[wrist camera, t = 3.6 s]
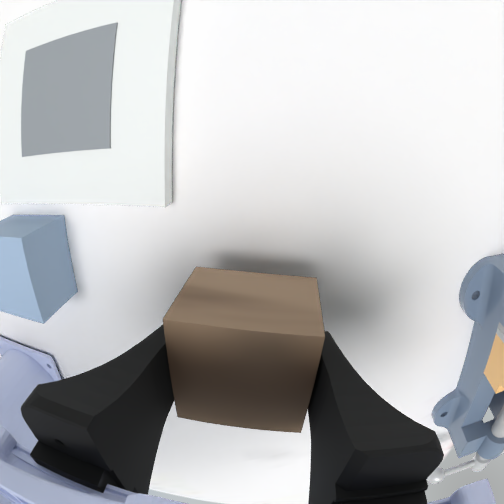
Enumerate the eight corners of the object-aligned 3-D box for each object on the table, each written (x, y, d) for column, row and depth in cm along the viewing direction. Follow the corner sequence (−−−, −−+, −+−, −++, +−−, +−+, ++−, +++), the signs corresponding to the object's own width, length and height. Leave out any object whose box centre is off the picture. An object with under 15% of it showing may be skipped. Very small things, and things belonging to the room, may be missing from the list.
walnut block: (300, 368, 15) (300, 432, 11) (200, 357, 15) (177, 416, 11) (316, 277, 13) (325, 336, 9) (196, 266, 13) (162, 319, 9)
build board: (172, 202, 15) (164, 207, 14) (10, 199, 16) (-1, 204, 15) (184, -26, 10) (177, -34, 9) (15, 26, 11) (4, 24, 10)
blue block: (78, 290, 18) (43, 323, 14) (28, 281, 18) (-7, 308, 15) (65, 214, 16) (21, 238, 12) (14, 214, 16) (-27, 234, 13)
